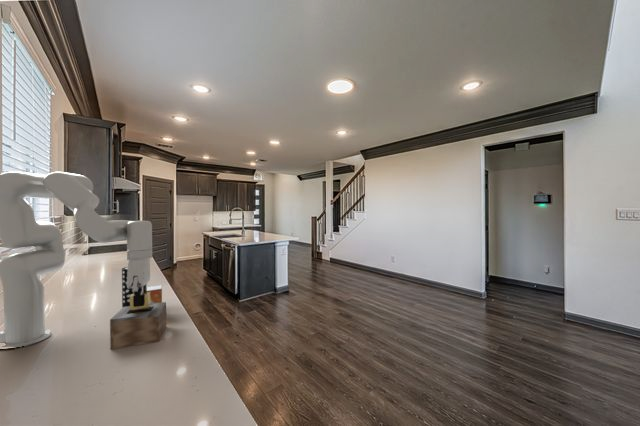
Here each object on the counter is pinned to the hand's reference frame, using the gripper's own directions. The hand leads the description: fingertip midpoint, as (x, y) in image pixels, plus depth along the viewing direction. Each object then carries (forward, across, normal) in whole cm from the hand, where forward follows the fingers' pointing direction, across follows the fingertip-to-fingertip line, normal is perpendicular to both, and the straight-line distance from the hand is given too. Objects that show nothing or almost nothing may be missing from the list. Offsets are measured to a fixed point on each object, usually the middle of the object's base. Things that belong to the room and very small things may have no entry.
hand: (140, 304), depth 92 cm
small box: (+12, -18, -1) cm, 22 cm away
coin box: (+12, 0, 0) cm, 12 cm away
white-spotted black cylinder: (+12, -31, -11) cm, 35 cm away
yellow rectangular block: (+1, 0, 0) cm, 1 cm away
